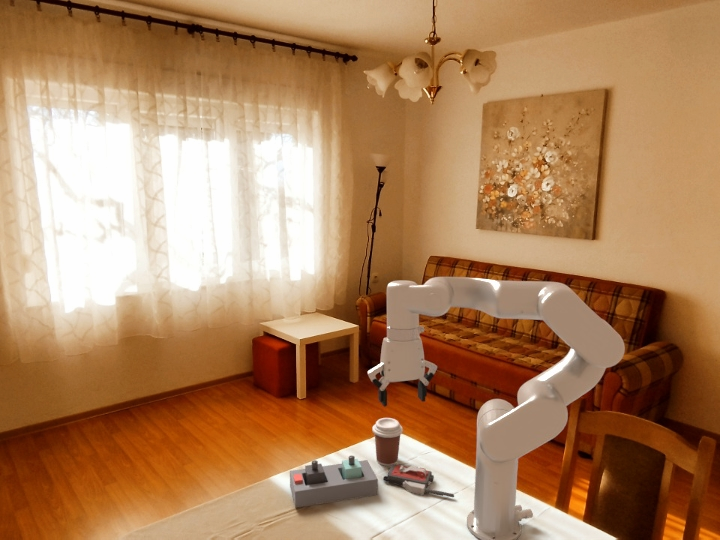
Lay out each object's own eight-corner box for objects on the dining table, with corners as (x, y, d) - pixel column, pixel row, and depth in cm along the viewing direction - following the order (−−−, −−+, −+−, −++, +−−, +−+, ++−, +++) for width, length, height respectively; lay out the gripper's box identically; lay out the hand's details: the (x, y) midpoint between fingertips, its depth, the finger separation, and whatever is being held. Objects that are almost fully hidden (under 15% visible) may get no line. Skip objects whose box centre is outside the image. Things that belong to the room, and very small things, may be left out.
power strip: (367, 474, 146) (367, 445, 144) (377, 494, 136) (377, 463, 135) (290, 486, 140) (289, 455, 138) (295, 507, 130) (294, 475, 129)
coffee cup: (369, 453, 157) (369, 417, 155) (398, 451, 159) (398, 415, 157) (375, 469, 148) (375, 431, 146) (405, 467, 150) (406, 428, 148)
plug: (357, 482, 142) (357, 451, 141) (361, 491, 138) (361, 460, 136) (341, 484, 141) (341, 454, 139) (345, 493, 137) (345, 462, 135)
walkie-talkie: (380, 487, 140) (453, 503, 133) (380, 472, 139) (453, 487, 133) (389, 471, 148) (458, 485, 141) (389, 457, 148) (459, 470, 141)
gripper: (430, 326, 126) (430, 392, 129) (363, 332, 122) (364, 400, 124) (443, 334, 119) (442, 403, 122) (372, 340, 115) (372, 412, 117)
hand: (402, 401), depth 123 cm, fingers open, 9 cm apart
